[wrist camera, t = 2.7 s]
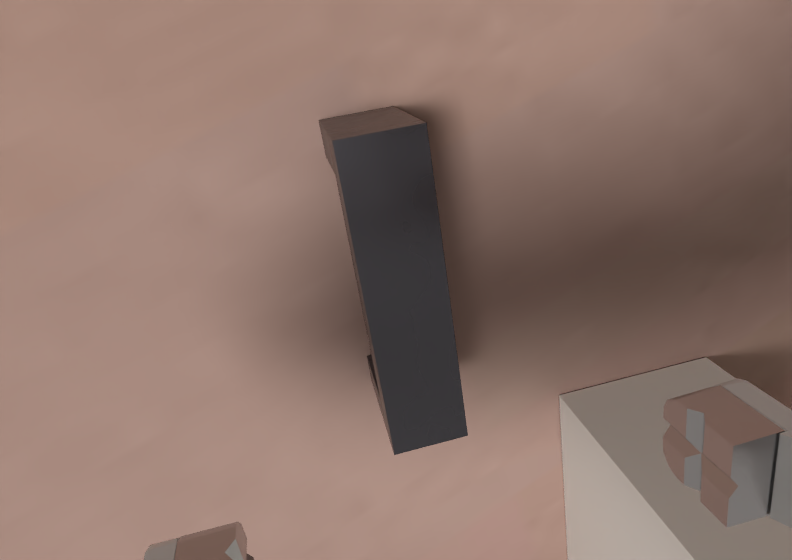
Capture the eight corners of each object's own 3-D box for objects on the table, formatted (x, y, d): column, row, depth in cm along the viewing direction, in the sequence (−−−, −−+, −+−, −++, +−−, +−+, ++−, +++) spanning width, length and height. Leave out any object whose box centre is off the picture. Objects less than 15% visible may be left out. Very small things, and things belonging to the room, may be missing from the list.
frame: (318, 120, 19) (332, 141, 15) (392, 106, 19) (426, 122, 15) (372, 382, 23) (394, 454, 19) (433, 367, 23) (467, 435, 19)
